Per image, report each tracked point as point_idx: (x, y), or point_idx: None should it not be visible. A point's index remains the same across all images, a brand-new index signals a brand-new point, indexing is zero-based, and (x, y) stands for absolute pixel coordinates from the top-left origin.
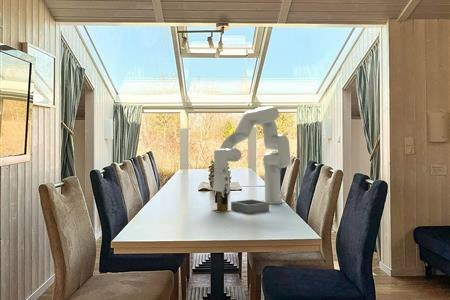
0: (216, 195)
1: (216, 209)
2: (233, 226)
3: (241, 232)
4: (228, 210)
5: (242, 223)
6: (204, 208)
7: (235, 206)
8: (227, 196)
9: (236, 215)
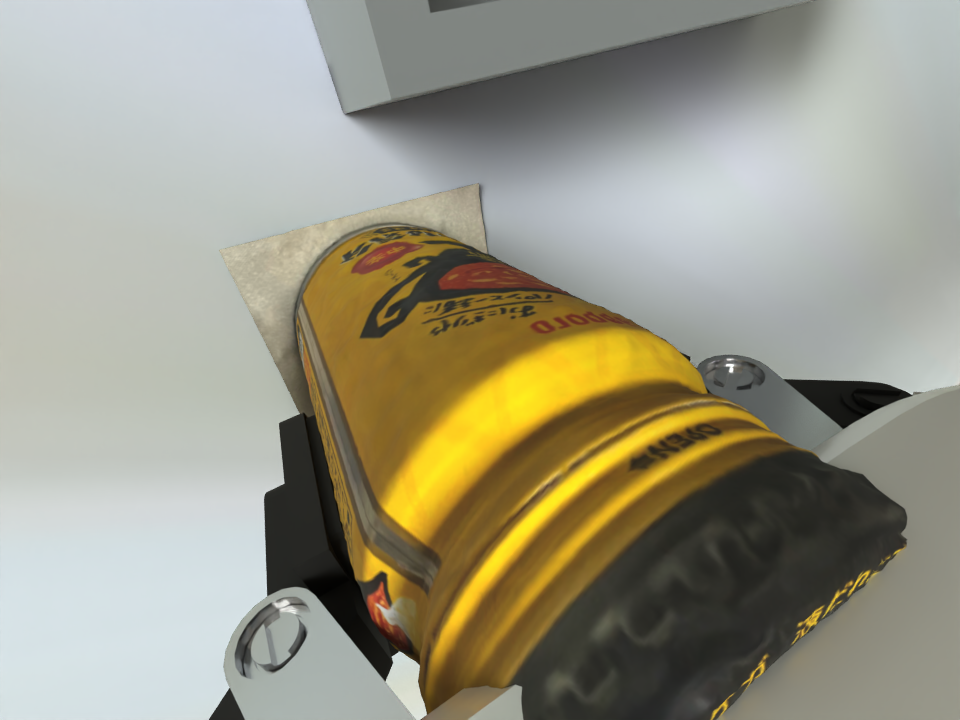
0: (379, 649)
1: (305, 406)
2: (881, 364)
3: (942, 353)
4: (426, 213)
5: (891, 293)
6: (53, 587)
7: (528, 68)
8: (746, 372)
9: (729, 231)
